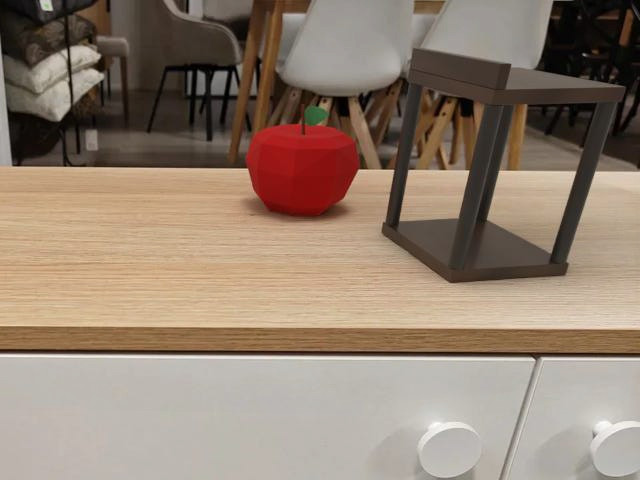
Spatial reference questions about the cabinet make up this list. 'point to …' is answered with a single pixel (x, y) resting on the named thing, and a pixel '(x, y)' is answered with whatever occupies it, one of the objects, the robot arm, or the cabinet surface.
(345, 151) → the apple
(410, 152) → the rack
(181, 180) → the cabinet surface
